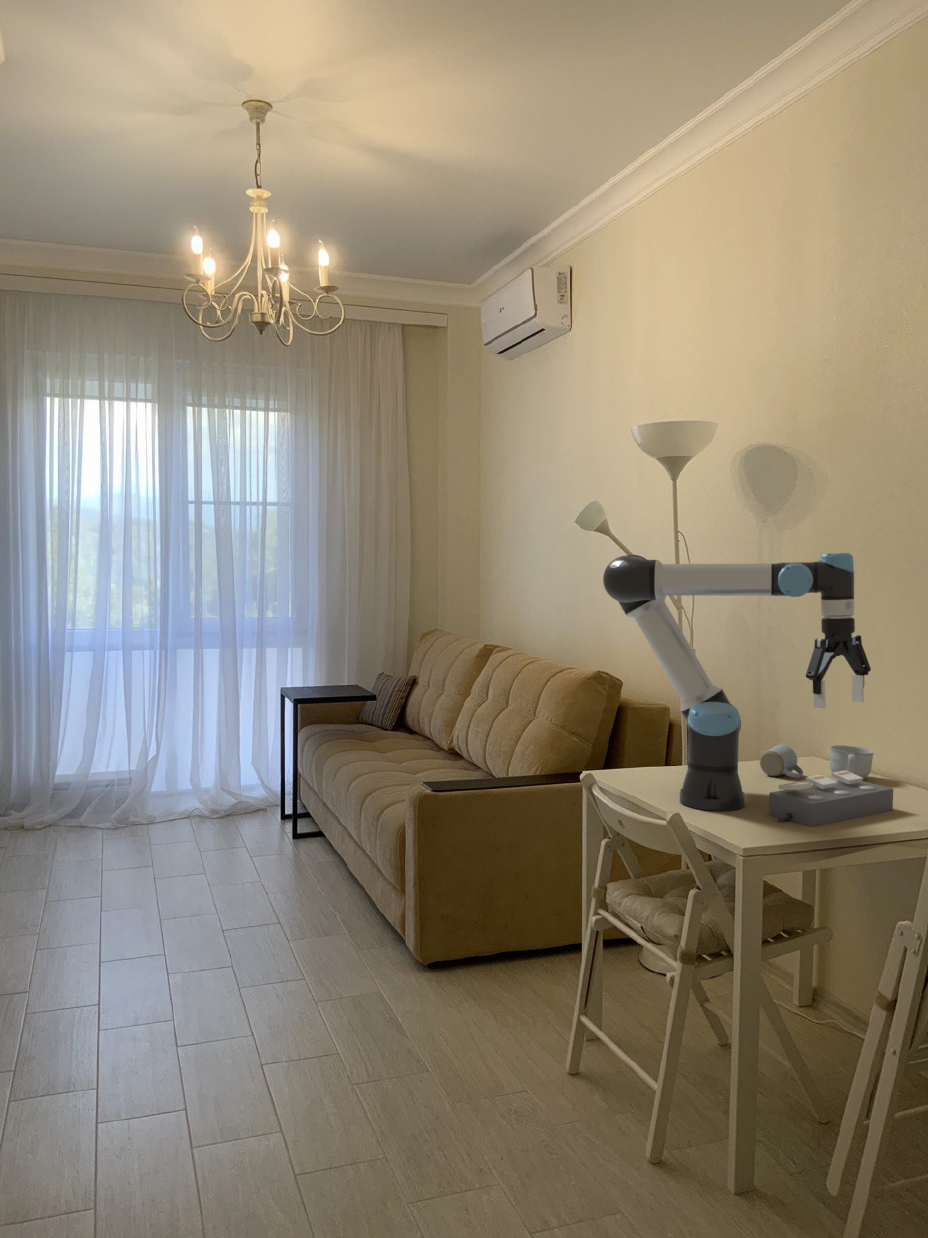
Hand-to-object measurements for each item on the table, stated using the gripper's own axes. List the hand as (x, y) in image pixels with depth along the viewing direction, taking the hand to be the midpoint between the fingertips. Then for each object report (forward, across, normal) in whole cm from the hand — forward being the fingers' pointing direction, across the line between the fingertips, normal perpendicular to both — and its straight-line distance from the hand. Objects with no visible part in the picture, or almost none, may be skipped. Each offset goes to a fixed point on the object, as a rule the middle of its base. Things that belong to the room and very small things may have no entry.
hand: (839, 704), depth 247 cm
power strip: (+23, -14, -7) cm, 28 cm away
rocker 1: (+16, -21, -4) cm, 27 cm away
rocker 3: (+17, -3, -4) cm, 18 cm away
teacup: (+24, +20, +14) cm, 34 cm away
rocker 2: (+17, -12, -4) cm, 21 cm away
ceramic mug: (+23, +8, +25) cm, 35 cm away
